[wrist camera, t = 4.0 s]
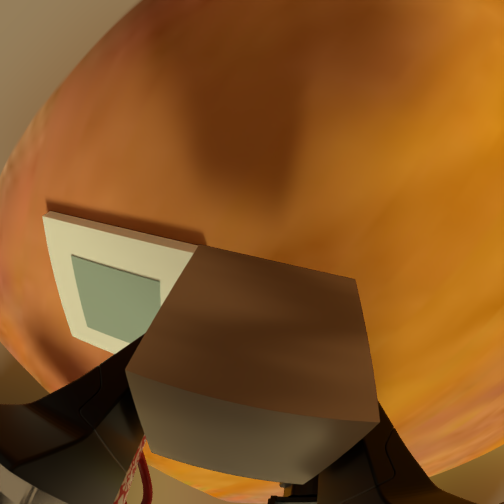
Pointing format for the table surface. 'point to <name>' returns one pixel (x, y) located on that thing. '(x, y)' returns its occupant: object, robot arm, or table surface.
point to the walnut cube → (255, 369)
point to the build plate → (111, 277)
